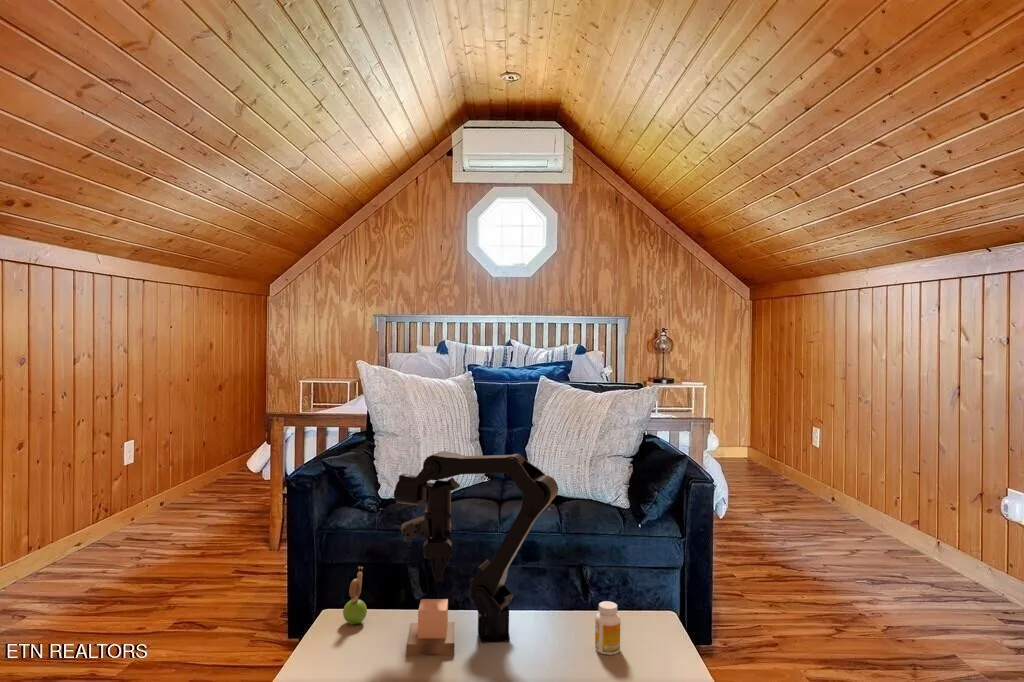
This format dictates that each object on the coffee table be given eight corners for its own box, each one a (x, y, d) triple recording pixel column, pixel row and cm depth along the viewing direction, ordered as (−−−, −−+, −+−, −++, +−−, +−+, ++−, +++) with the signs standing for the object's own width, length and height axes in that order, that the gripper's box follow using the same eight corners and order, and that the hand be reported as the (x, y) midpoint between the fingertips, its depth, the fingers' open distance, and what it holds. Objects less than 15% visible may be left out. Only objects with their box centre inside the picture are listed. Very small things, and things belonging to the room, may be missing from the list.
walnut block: (454, 635, 146) (454, 622, 146) (454, 657, 136) (454, 643, 136) (409, 636, 145) (410, 623, 145) (406, 658, 135) (406, 644, 135)
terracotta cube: (447, 626, 144) (447, 599, 144) (445, 638, 138) (446, 610, 138) (420, 626, 144) (421, 599, 144) (417, 638, 138) (418, 610, 138)
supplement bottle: (624, 649, 139) (625, 604, 139) (610, 658, 136) (611, 612, 135) (604, 641, 143) (605, 597, 143) (589, 649, 139) (590, 604, 139)
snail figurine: (371, 616, 154) (371, 566, 154) (362, 628, 147) (363, 576, 147) (349, 615, 154) (349, 565, 154) (339, 627, 148) (340, 575, 148)
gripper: (406, 497, 158) (405, 560, 158) (400, 519, 139) (399, 590, 139) (451, 496, 159) (450, 559, 159) (452, 518, 140) (451, 589, 141)
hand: (437, 574), depth 150 cm, fingers open, 9 cm apart
